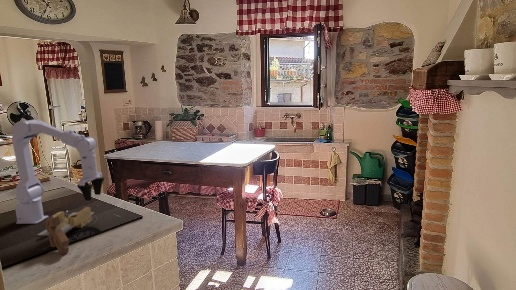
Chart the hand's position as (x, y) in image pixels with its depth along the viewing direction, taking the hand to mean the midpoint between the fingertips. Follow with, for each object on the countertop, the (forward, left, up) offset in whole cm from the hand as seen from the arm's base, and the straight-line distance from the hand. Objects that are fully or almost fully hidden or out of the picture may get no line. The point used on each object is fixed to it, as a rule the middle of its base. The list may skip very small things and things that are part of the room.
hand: (93, 197), depth 149 cm
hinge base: (-10, -8, -10) cm, 16 cm away
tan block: (-2, -7, -10) cm, 12 cm away
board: (-10, -4, -10) cm, 15 cm away
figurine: (+1, -27, -10) cm, 29 cm away
